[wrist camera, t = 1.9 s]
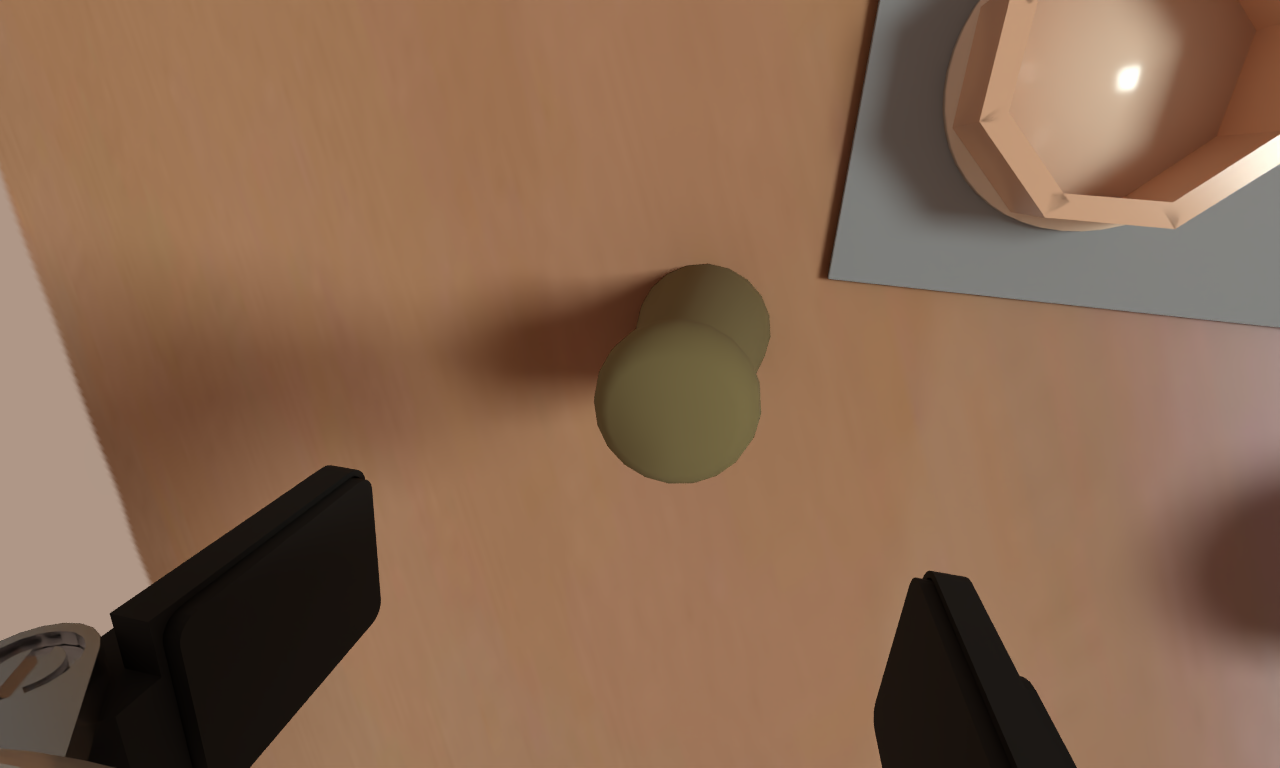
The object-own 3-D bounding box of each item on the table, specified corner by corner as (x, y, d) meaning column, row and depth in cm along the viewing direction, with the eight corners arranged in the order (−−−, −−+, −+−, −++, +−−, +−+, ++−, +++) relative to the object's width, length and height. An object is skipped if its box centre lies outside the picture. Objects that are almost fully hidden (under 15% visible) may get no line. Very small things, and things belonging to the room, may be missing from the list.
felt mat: (1309, 329, 23) (1318, 331, 23) (827, 277, 26) (828, 278, 26) (1556, -199, 18) (1573, -206, 17) (914, -197, 20) (917, -204, 20)
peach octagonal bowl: (1205, 243, 23) (1282, 255, 19) (913, 216, 24) (938, 223, 21) (1336, -93, 19) (1458, -149, 16) (984, -100, 21) (1028, -152, 17)
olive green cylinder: (681, 414, 29) (640, 544, 19) (612, 308, 28) (529, 385, 18) (795, 353, 27) (817, 461, 17) (725, 236, 26) (704, 277, 16)
